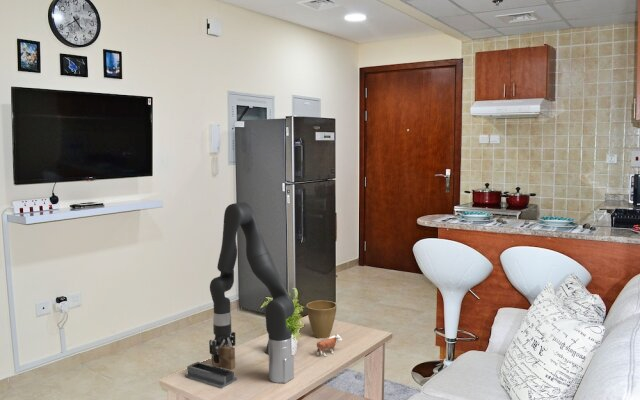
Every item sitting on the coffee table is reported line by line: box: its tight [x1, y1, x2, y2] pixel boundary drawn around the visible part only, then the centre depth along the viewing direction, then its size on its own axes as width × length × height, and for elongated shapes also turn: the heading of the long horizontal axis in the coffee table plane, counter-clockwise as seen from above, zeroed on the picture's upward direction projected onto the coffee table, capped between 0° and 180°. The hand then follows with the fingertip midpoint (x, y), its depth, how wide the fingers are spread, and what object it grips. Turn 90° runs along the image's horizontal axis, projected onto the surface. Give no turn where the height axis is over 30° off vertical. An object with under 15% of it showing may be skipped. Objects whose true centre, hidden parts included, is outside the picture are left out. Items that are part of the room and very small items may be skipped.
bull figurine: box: [316, 334, 343, 357], centre depth 251 cm, size 4×13×8 cm, turn 125°
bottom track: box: [184, 361, 238, 389], centre depth 225 cm, size 20×9×4 cm, turn 58°
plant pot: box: [306, 300, 338, 339], centre depth 274 cm, size 15×15×16 cm
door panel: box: [210, 345, 236, 371], centre depth 237 cm, size 11×2×9 cm, turn 58°
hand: (223, 359), depth 237 cm, fingers open, 7 cm apart
